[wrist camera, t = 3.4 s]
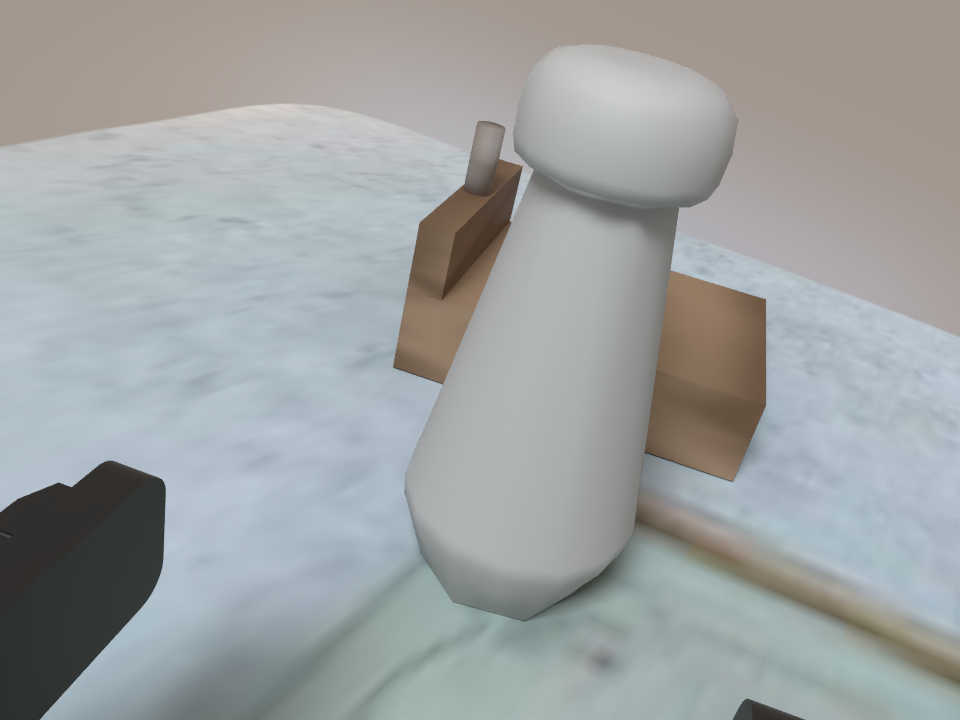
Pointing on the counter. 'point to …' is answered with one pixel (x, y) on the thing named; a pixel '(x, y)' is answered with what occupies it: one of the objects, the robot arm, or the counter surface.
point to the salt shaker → (566, 332)
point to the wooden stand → (684, 338)
